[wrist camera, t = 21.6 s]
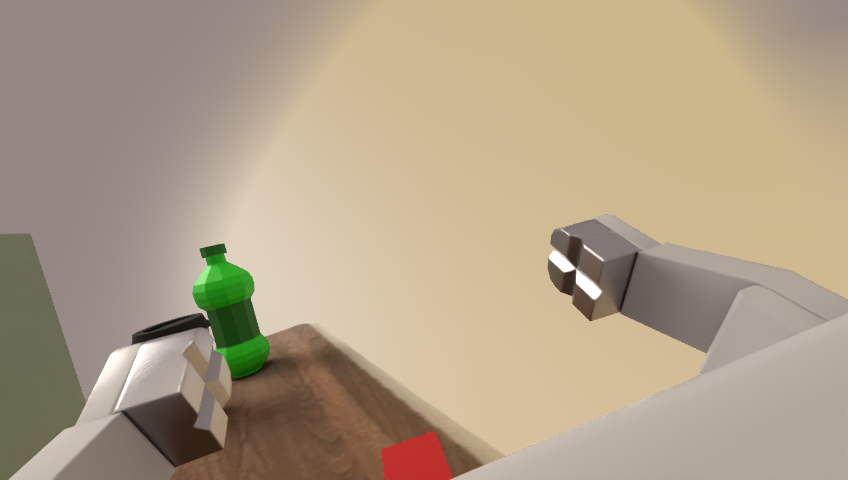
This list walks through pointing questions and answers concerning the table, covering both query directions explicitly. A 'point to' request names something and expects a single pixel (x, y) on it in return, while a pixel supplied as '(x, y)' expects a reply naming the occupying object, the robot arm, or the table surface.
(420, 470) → the long red beam
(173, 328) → the coffee cup
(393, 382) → the table surface
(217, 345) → the plastic bottle
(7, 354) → the stand
